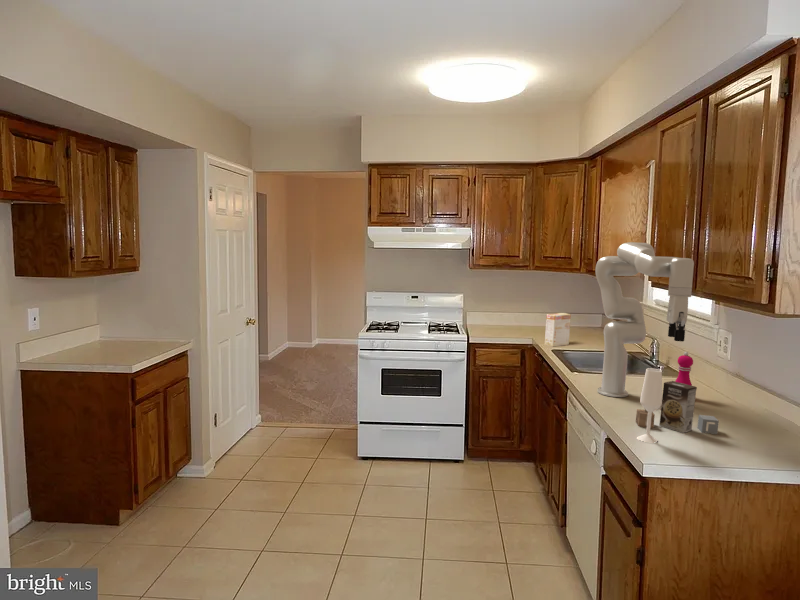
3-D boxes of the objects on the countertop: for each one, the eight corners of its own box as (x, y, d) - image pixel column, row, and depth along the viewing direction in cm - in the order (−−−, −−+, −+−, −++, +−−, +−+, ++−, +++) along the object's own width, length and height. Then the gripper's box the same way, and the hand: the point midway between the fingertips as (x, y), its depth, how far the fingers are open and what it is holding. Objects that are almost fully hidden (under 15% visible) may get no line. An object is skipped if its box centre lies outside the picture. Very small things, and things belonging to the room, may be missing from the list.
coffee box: (658, 425, 203) (662, 382, 201) (667, 422, 206) (672, 380, 204) (683, 433, 195) (688, 388, 193) (692, 430, 199) (697, 386, 197)
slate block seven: (697, 428, 202) (698, 414, 201) (712, 429, 201) (713, 416, 200) (702, 433, 197) (703, 419, 196) (717, 434, 196) (719, 420, 195)
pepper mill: (679, 394, 246) (684, 349, 243) (694, 398, 239) (699, 353, 237) (668, 395, 243) (673, 350, 240) (683, 400, 236) (688, 354, 234)
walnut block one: (635, 422, 206) (637, 406, 205) (650, 423, 205) (651, 407, 204) (638, 426, 201) (640, 410, 200) (653, 428, 200) (655, 411, 199)
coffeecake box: (560, 342, 356) (562, 312, 353) (569, 344, 350) (571, 314, 347) (543, 344, 348) (546, 313, 345) (552, 346, 342) (554, 315, 339)
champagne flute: (635, 434, 192) (642, 366, 189) (656, 437, 190) (663, 368, 187) (637, 441, 186) (644, 371, 183) (659, 444, 184) (666, 373, 181)
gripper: (663, 290, 211) (659, 334, 213) (674, 293, 194) (670, 342, 196) (685, 291, 209) (681, 336, 211) (697, 294, 193) (693, 343, 194)
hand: (675, 338), depth 204 cm, fingers open, 9 cm apart
